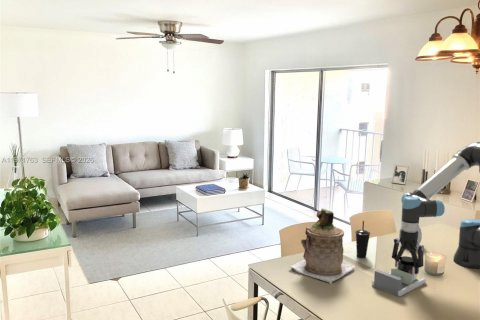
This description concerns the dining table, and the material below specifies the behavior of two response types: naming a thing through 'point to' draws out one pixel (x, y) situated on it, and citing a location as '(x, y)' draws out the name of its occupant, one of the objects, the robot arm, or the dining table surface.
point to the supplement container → (406, 264)
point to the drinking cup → (362, 242)
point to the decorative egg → (418, 235)
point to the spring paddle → (403, 276)
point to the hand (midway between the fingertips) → (406, 276)
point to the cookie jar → (323, 250)
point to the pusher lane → (394, 283)
